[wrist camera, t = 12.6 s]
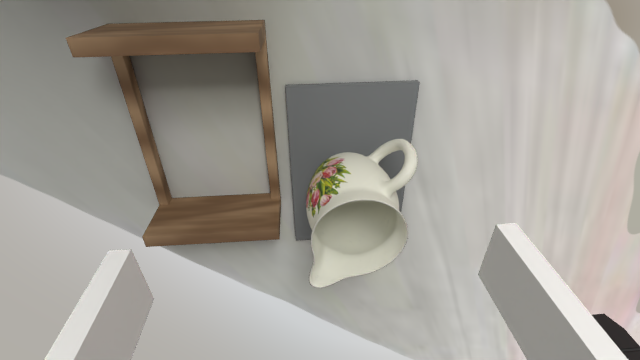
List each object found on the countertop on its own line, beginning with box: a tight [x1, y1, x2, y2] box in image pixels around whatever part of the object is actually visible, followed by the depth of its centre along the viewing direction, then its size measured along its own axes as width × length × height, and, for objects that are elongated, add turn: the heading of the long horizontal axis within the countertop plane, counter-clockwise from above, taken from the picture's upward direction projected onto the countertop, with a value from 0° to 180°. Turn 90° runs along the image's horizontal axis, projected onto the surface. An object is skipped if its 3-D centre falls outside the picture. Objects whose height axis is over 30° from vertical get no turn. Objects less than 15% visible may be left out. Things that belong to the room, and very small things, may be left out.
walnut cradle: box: [66, 20, 281, 247], centre depth 40 cm, size 24×16×8 cm
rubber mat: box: [285, 80, 420, 240], centre depth 47 cm, size 24×16×1 cm, turn 1°
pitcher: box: [306, 139, 418, 288], centre depth 41 cm, size 11×18×14 cm, turn 142°
